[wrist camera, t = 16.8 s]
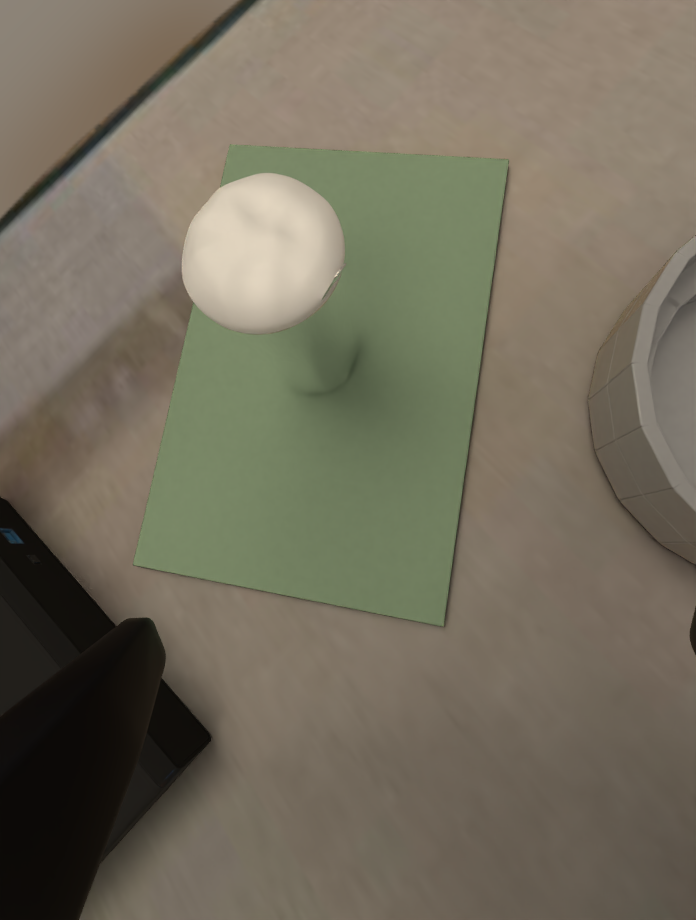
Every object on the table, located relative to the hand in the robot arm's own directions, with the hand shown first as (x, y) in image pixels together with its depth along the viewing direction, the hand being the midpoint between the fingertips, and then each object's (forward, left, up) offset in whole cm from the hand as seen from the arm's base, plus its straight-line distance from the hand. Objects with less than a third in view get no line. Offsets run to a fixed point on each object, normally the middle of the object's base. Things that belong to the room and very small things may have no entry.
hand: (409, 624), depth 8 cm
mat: (+3, +9, -12) cm, 15 cm away
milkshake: (+3, +9, -12) cm, 15 cm away
